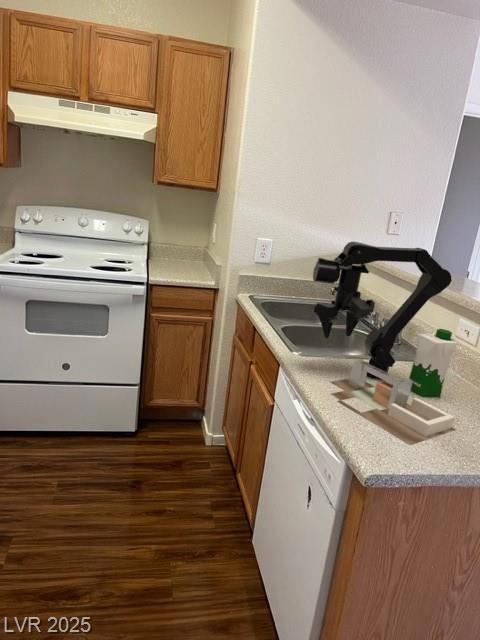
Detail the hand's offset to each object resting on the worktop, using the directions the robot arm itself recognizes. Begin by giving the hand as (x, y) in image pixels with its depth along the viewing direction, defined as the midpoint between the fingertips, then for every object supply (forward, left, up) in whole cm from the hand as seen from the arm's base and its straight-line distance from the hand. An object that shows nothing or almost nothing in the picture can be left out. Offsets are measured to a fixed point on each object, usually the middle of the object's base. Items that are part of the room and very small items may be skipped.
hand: (337, 336), depth 143 cm
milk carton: (-17, +21, -12) cm, 30 cm away
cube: (+2, +22, -10) cm, 25 cm away
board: (+5, +23, -12) cm, 27 cm away
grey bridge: (+2, +18, -10) cm, 21 cm away
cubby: (+2, +33, -11) cm, 35 cm away
